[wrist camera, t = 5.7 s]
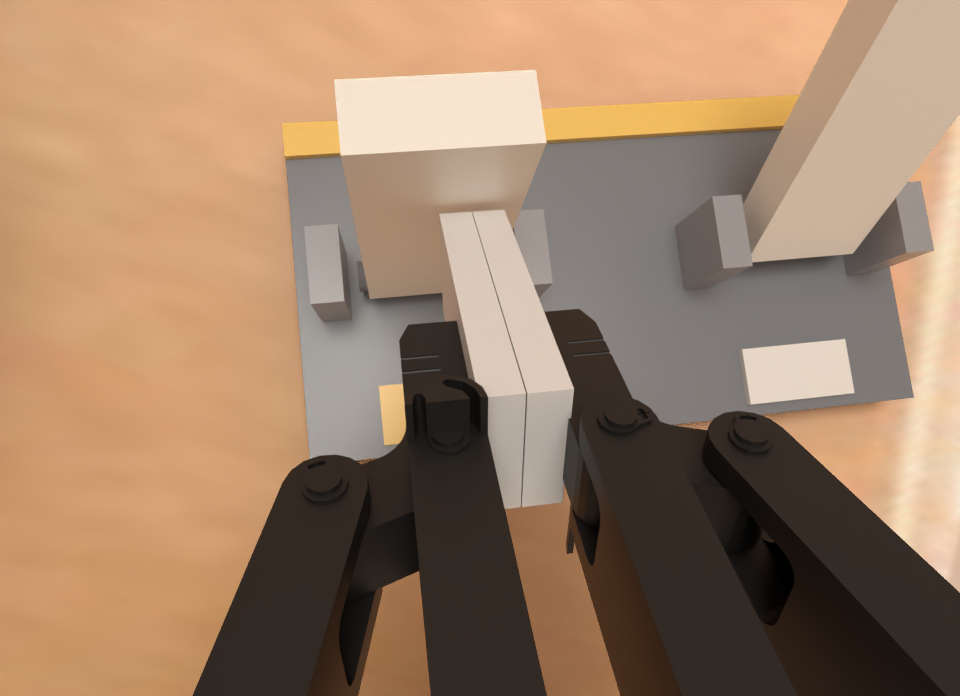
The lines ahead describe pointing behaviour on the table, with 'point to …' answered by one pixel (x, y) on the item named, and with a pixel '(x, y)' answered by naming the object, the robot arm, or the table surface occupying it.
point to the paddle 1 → (432, 164)
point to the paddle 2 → (857, 128)
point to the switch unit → (621, 274)
